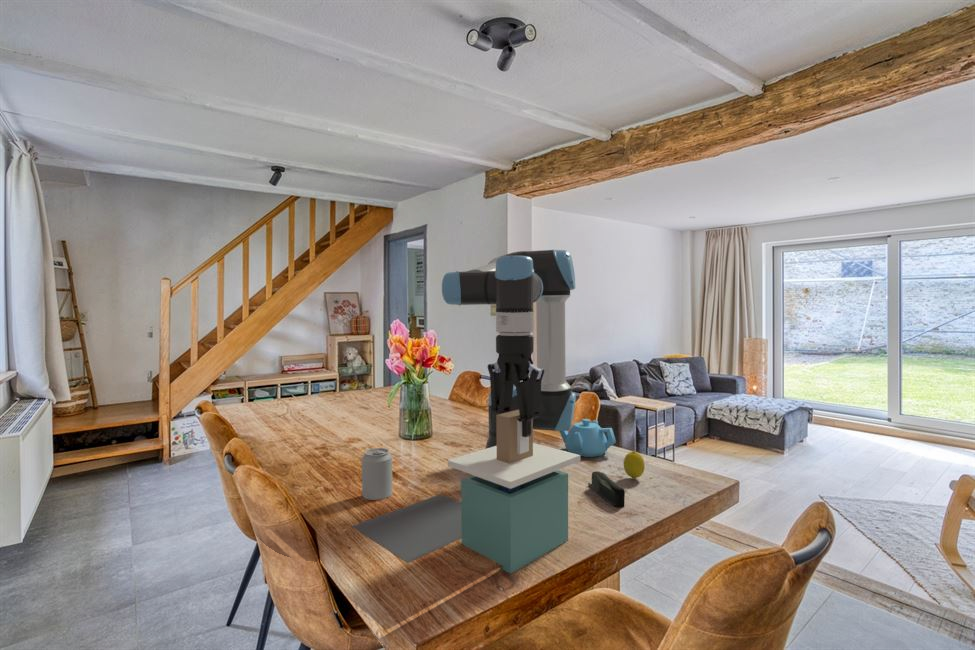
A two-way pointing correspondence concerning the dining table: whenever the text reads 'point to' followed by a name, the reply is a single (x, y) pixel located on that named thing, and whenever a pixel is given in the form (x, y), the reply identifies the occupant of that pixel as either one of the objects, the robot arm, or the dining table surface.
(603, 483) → the mobile phone
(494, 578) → the dining table surface
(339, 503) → the dining table surface
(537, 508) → the teal storage bin
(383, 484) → the can
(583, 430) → the teapot
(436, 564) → the dining table surface
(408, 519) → the mat
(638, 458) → the lemon
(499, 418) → the lid
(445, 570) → the dining table surface
